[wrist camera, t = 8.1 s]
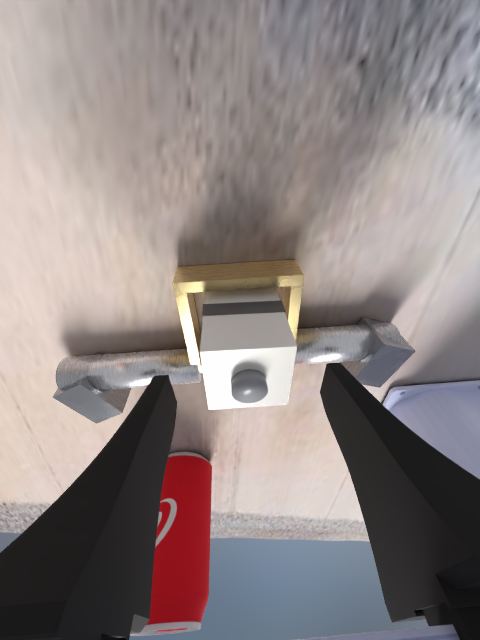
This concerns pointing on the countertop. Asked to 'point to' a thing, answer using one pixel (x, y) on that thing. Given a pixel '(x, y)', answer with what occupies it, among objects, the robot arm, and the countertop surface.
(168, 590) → the beverage can
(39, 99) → the countertop surface
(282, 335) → the white knobbed block
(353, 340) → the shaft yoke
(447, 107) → the countertop surface
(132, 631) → the robot arm
